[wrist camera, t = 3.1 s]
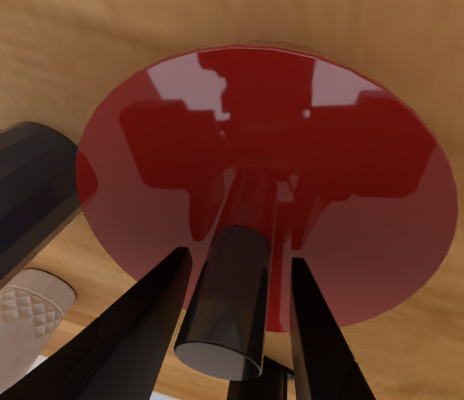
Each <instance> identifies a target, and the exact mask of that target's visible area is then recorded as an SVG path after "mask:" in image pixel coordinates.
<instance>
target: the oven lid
mask: <svg viewBox="0 0 464 400" xmlns="http://www.w3.org/2000/svg"><path fill="white" fill-rule="evenodd" d="M76 185H77V191H78V196H79V201H80V203H81V206H82V209H83V212H84V215H85V217H86V219H87V221H88V223H89V226H90V228H91V230H92V231H93V233H94V234H95V236H96V238H97V239H98V241H99V242H100V244H101V245H102V246H103V248H104V249H105V250H106V251H107V253H108V254H109V255H110V256H111V257H112V258H113V260H114V261H115V262H116V263H117V264H118V265H119V266H120V267H121V268H122V269H123V270H124V271H126V272H127V273H128V274H129V275H130V276H131V277H132V278H134V279H135V280H136V281H137V282H138V281H139V280H140V279H142V278H143V277H144V276H145V275H146V274H147V273H148V272H149V271H151V270H152V269H153V268H154V267H155V266H156V265H157V264H159V263H160V262H161V261H162V260H163V259H164V258H165V257H166V256H168V255H169V254H170V253H171V252H172V251H173V250H174V249H175V248H177V247H188V248H189V250H190V253H191V257H192V260H193V267H192V271H191V275H190V279H189V283H188V288H187V292H186V296H185V300H184V304H183V307H182V309H184V310H187V311H186V314H185V317H184V320H183V323H182V326H181V328H180V331H179V334H178V337H177V340H176V343H175V345H174V353H175V355H176V357H177V358H178V359H179V360H180V361H182V362H183V363H184V364H186V365H187V366H189V367H191V368H192V369H194V370H196V371H199V372H201V373H204V374H207V375H210V376H213V377H217V378H221V379H226V380H234V381H246V380H252V379H256V378H258V377H259V376H260V375H261V373H262V369H263V358H264V346H265V335H266V331H271V332H290V320H289V309H290V276H291V262H292V258H293V257H300V258H304V259H305V261H306V263H307V265H308V267H309V269H310V271H311V273H312V275H313V277H314V279H315V281H316V283H317V285H318V287H319V289H320V291H321V293H322V295H323V297H324V299H325V301H326V303H327V305H328V307H329V309H330V311H331V313H332V315H333V317H334V319H335V320H336V322H337V324H338V326H339V327H344V326H348V325H352V324H355V323H359V322H362V321H365V320H367V319H370V318H373V317H375V316H378V315H380V314H382V313H384V312H386V311H388V310H390V309H392V308H394V307H396V306H397V305H399V304H400V303H402V302H403V301H405V300H407V299H408V298H410V297H411V296H412V295H413V294H414V293H416V292H417V291H418V290H419V289H420V288H422V287H423V286H424V285H425V284H426V283H427V281H428V280H429V279H430V278H431V277H432V276H433V275H434V274H435V272H436V271H437V270H438V268H439V267H440V265H441V263H442V262H443V260H444V259H445V257H446V255H447V254H448V251H449V249H450V246H451V243H452V241H453V238H454V235H455V231H456V224H457V218H458V197H457V186H456V182H455V179H454V176H453V172H452V169H451V166H450V162H449V160H448V158H447V156H446V155H445V153H444V151H443V149H442V147H441V146H440V144H439V142H438V140H437V138H436V137H435V135H434V134H433V132H432V131H431V130H430V129H429V128H428V127H427V125H426V124H425V123H424V122H423V121H422V120H421V118H420V117H419V116H418V115H417V114H416V113H415V111H414V110H413V109H412V108H411V107H409V106H408V105H407V104H406V103H405V102H404V101H402V100H401V99H400V98H399V97H397V96H396V95H395V94H394V93H392V92H391V91H390V90H389V89H387V88H386V87H385V86H384V85H382V84H381V83H380V82H378V81H376V80H375V79H373V78H371V77H369V76H367V75H366V74H364V73H362V72H360V71H358V70H357V69H355V68H353V67H351V66H349V65H348V64H345V63H342V62H339V61H336V60H334V59H331V58H328V57H325V56H323V55H320V54H317V53H314V52H312V51H306V50H301V49H296V48H291V47H286V46H281V45H275V44H255V43H231V44H222V45H214V46H206V47H200V48H196V49H193V50H189V51H186V52H182V53H179V54H175V55H172V56H169V57H166V58H164V59H162V60H160V61H158V62H156V63H154V64H152V65H150V66H148V67H145V68H143V69H141V70H139V71H137V72H135V73H134V74H133V75H131V76H130V77H129V78H127V79H126V80H125V81H123V82H122V83H121V84H119V85H118V86H117V87H115V88H114V89H113V90H112V91H111V92H110V93H109V94H108V95H107V96H106V98H105V99H104V100H103V101H102V102H101V103H100V104H99V105H98V106H97V108H96V109H95V111H94V113H93V114H92V116H91V118H90V119H89V121H88V123H87V124H86V126H85V129H84V132H83V134H82V137H81V140H80V143H79V146H78V152H77V158H76Z"/></svg>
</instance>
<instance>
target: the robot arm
mask: <svg viewBox="0 0 464 400" xmlns="http://www.w3.org/2000/svg"><path fill="white" fill-rule="evenodd" d="M192 267H193V260H192V257H191V253H190V250H189V248H188V247H177V248H175V249H174V250H173V251H172V252H171V253H170V254H169V255H168V256H166V257H165V258H164V259H163V260H162V261H161V262H160V263H159V264H157V265H156V266H155V267H154V268H153V269H152V270H151V271H149V272H148V273H147V274H146V275H145V276H144V277H143V278H142V279H140V280H139V281H138V282H137V283H136V284H135V285H134V286H133V287H131V288H130V289H129V290H128V291H127V292H126V293H125V294H123V295H122V296H121V297H120V298H119V299H118V300H117V301H116V302H114V303H113V304H112V305H111V306H110V307H109V308H108V309H107V310H105V311H104V312H103V313H102V314H101V315H100V316H99V317H97V318H96V319H95V320H94V321H93V322H92V323H91V324H89V325H88V326H87V327H86V328H85V329H84V330H82V331H81V332H80V333H79V334H78V335H77V336H75V337H74V338H73V339H72V340H71V341H69V342H68V343H67V344H66V345H64V346H63V347H62V348H60V349H59V350H58V351H57V352H55V353H54V354H53V355H52V356H50V357H49V358H48V359H46V360H45V361H44V362H42V363H41V364H40V365H38V366H37V367H36V368H35V369H33V370H32V371H31V372H29V373H28V374H27V375H25V376H24V377H23V378H22V379H20V380H19V381H18V382H16V383H15V384H14V385H12V386H11V387H10V388H8V389H7V390H5V391H4V392H2V393H1V394H0V400H149V399H150V396H151V394H152V391H153V388H154V385H155V382H156V380H157V377H158V374H159V371H160V368H161V366H162V363H163V360H164V357H165V354H166V352H167V349H168V346H169V343H170V341H171V338H172V335H173V332H174V329H175V327H176V324H177V321H178V318H179V315H180V313H181V310H182V307H183V304H184V300H185V296H186V292H187V288H188V283H189V279H190V275H191V271H192ZM289 320H290V333H291V344H292V355H293V367H294V372H292V371H290V370H288V369H286V368H284V367H282V366H280V365H278V364H276V363H274V362H272V361H270V360H268V359H266V358H263V369H262V373H261V375H260V376H259V377H258V378H256V379H252V380H246V381H234V380H230V383H229V389H228V395H227V400H287V380H292V379H295V389H296V400H376V398H375V397H374V395H373V393H372V391H371V389H370V387H369V385H368V383H367V382H366V380H365V378H364V376H363V374H362V372H361V370H360V368H359V366H358V364H357V362H356V361H354V356H353V354H352V352H351V350H350V348H349V346H348V344H347V342H346V340H345V338H344V336H343V334H342V332H341V330H340V328H339V326H338V324H337V322H336V320H335V319H334V317H333V315H332V313H331V311H330V309H329V307H328V305H327V303H326V301H325V299H324V297H323V295H322V293H321V291H320V289H319V287H318V285H317V283H316V281H315V279H314V277H313V275H312V273H311V271H310V269H309V267H308V265H307V263H306V261H305V259H304V258H300V257H293V258H292V262H291V276H290V309H289Z"/></svg>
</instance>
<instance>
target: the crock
mask: <svg viewBox="0 0 464 400" xmlns="http://www.w3.org/2000/svg"><path fill="white" fill-rule="evenodd" d="M77 152H78V148H77V147H76V146H75V145H74V144H73V143H72V142H70V141H69V140H68V139H67V138H65V137H64V136H62V135H61V134H59V133H58V132H56V131H54V130H52V129H50V128H48V127H46V126H43V125H40V124H36V123H30V122H21V123H17V124H14V125H12V126H9V127H7V128H5V129H0V290H1V289H2V288H3V287H4V286H5V285H6V284H7V283H8V282H9V281H10V280H11V279H12V278H14V277H15V276H16V275H17V274H18V273H19V272H20V271H21V270H22V269H23V268H24V267H25V266H26V265H27V264H28V263H29V262H30V261H31V260H32V259H33V258H34V257H35V256H36V255H37V254H38V253H39V252H40V251H41V250H42V249H43V248H44V247H45V246H46V245H48V244H49V243H50V242H51V241H52V240H53V239H54V238H55V237H56V236H57V235H58V234H59V233H60V232H61V231H62V230H63V229H64V228H65V227H66V226H67V225H68V224H69V223H70V222H71V221H72V220H73V219H74V218H75V217H76V216H77V215H78V214H79V213H80V212H82V211H83V209H82V206H81V203H80V201H79V196H78V191H77V185H76V158H77Z"/></svg>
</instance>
